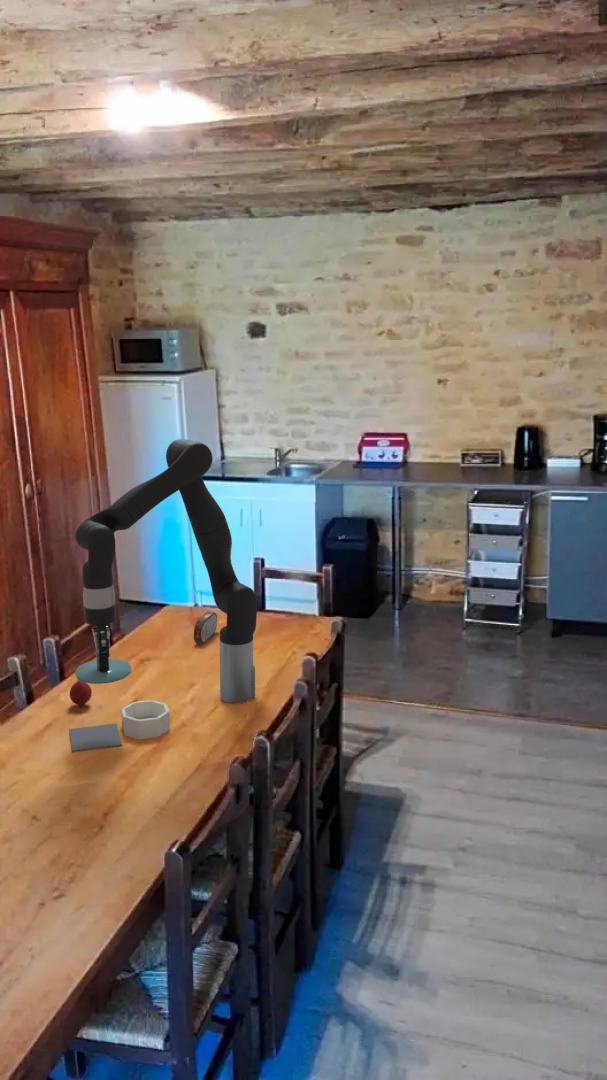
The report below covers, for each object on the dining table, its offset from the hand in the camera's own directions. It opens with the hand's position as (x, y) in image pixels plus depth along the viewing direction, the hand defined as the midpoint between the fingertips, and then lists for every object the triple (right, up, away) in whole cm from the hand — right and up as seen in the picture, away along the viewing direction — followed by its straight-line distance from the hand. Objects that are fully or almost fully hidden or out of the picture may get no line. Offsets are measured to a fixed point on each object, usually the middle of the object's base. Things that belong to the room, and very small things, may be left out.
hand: (103, 668), depth 220 cm
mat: (-3, -18, +3) cm, 19 cm away
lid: (0, -1, 0) cm, 1 cm away
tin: (+18, -1, +72) cm, 74 cm away
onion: (-11, -14, +21) cm, 27 cm away
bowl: (+9, -17, +9) cm, 21 cm away
